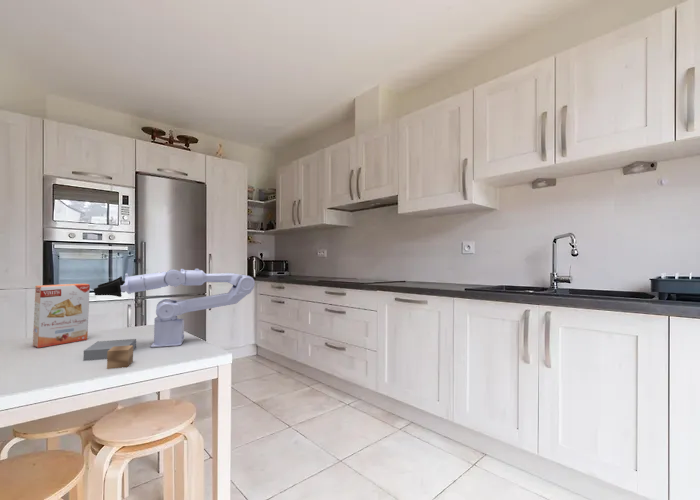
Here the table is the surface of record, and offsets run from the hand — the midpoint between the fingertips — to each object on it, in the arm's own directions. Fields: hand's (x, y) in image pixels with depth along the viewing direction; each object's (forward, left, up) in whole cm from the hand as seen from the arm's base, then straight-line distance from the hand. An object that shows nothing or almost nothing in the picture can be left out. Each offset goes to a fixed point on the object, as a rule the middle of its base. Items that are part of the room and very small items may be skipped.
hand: (96, 290), depth 108 cm
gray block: (-6, +4, -21) cm, 22 cm away
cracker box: (+15, -16, -20) cm, 30 cm away
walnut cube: (-12, +17, -20) cm, 29 cm away
